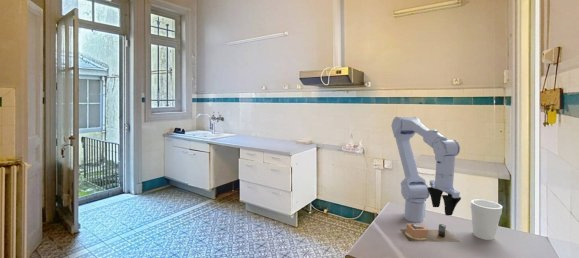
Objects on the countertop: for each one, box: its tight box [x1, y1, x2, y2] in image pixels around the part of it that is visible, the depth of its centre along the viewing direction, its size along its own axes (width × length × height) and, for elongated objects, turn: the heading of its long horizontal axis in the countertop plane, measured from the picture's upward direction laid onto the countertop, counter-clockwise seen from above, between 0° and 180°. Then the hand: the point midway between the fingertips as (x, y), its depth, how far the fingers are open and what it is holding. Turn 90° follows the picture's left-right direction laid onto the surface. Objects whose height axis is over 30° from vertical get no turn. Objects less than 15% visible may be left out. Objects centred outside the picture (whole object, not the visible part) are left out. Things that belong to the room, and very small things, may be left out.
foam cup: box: [470, 198, 503, 241], centre depth 104 cm, size 10×9×13 cm
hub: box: [404, 223, 428, 240], centre depth 104 cm, size 8×8×4 cm
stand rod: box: [437, 223, 447, 237], centre depth 104 cm, size 2×2×4 cm
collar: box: [405, 222, 429, 238], centre depth 104 cm, size 5×5×3 cm
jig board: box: [399, 228, 461, 243], centre depth 105 cm, size 18×9×1 cm, turn 90°
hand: (442, 210), depth 103 cm, fingers open, 7 cm apart
